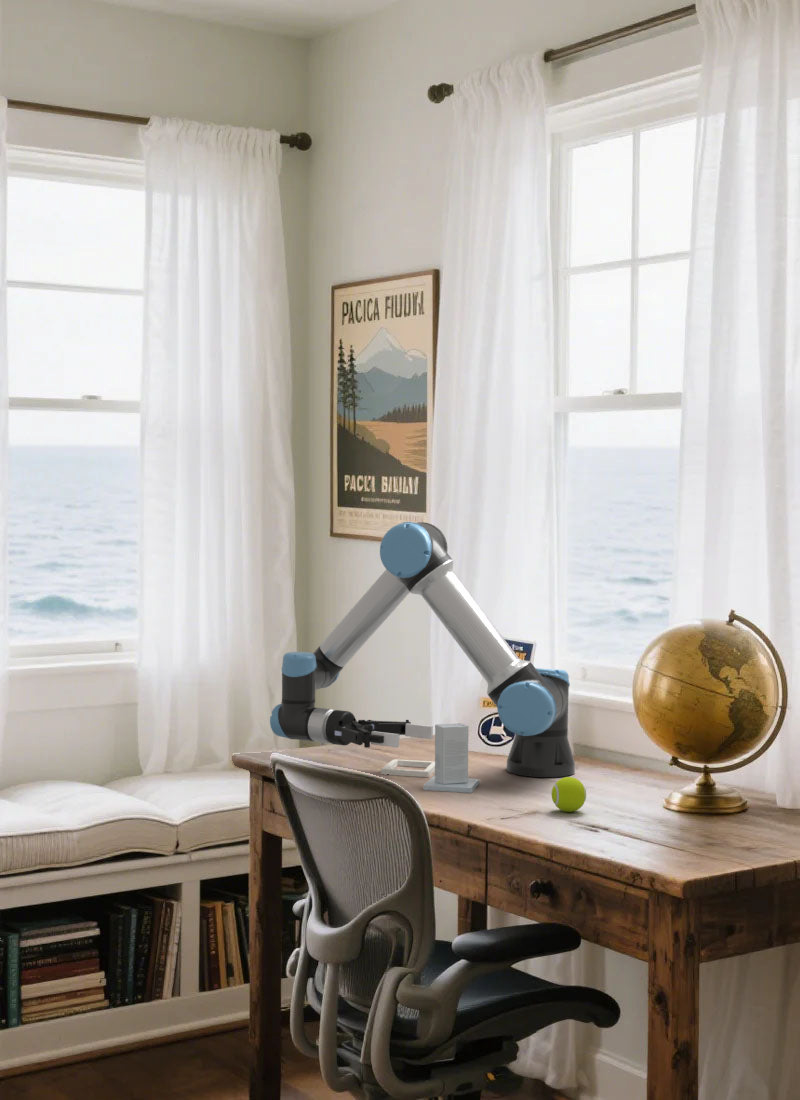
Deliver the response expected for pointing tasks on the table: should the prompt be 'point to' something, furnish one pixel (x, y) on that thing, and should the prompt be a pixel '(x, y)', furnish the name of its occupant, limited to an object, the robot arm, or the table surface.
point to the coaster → (452, 786)
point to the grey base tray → (405, 772)
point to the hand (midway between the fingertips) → (415, 736)
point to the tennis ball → (568, 794)
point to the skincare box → (451, 753)
